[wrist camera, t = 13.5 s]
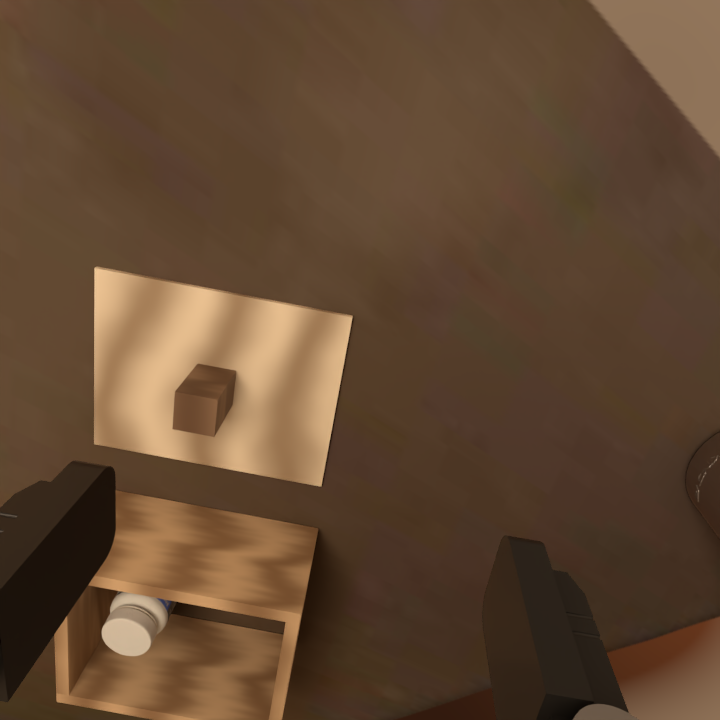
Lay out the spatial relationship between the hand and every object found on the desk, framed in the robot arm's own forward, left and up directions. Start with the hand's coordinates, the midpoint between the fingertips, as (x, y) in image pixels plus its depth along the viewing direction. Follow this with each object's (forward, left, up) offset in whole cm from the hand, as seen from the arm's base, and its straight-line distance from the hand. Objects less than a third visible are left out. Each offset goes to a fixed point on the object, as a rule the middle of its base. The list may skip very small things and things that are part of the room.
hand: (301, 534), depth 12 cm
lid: (+10, +13, -32) cm, 36 cm away
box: (+9, +32, -32) cm, 46 cm away
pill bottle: (+13, +32, -32) cm, 47 cm away
